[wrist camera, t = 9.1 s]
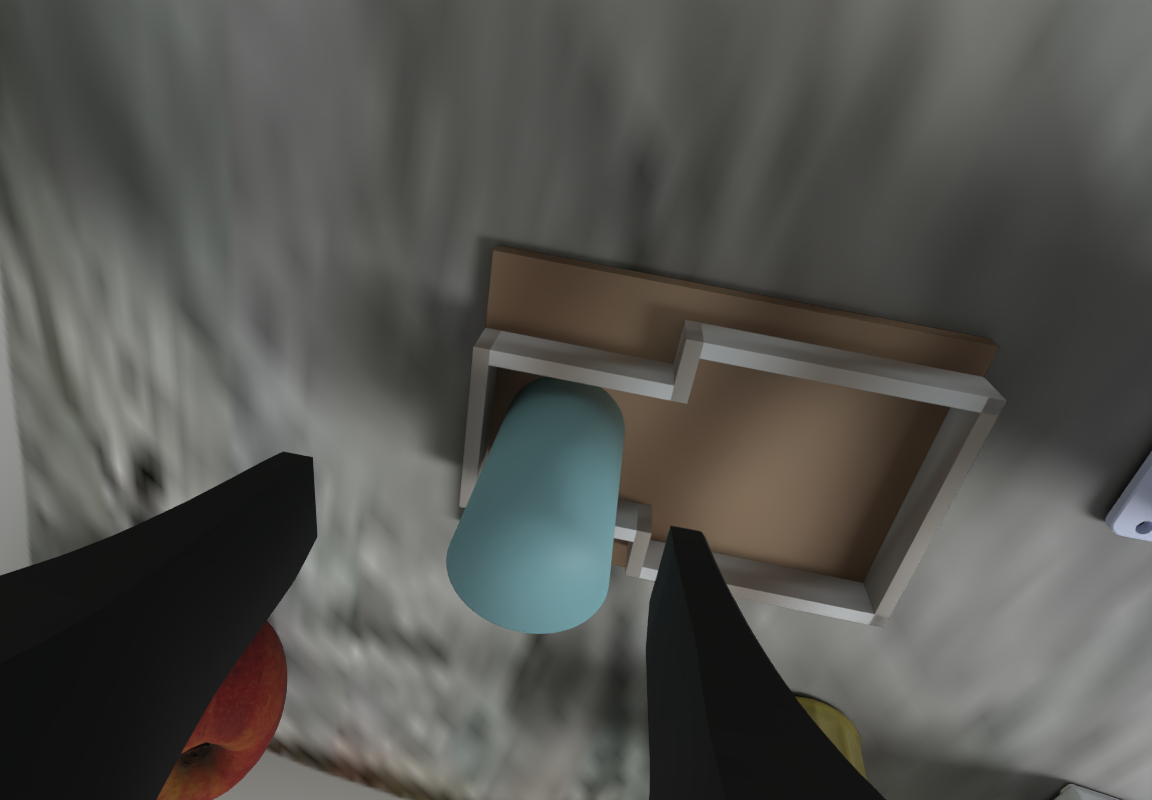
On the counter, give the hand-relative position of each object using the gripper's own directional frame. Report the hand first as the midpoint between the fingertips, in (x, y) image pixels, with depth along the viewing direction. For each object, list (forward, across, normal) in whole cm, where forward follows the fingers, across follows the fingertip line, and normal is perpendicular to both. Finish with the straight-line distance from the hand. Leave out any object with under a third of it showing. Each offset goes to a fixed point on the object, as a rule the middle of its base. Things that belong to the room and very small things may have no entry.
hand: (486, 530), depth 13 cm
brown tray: (+9, -5, +3) cm, 11 cm away
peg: (+9, -1, +3) cm, 9 cm away
